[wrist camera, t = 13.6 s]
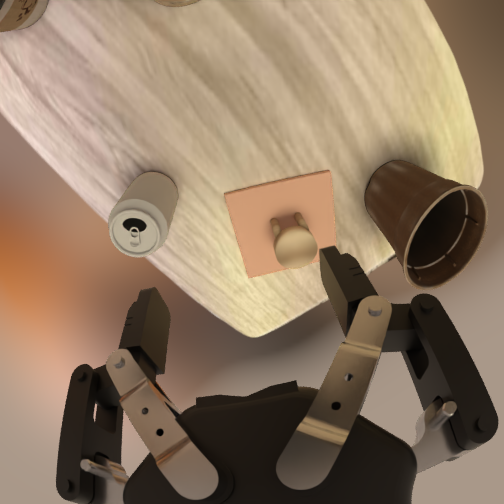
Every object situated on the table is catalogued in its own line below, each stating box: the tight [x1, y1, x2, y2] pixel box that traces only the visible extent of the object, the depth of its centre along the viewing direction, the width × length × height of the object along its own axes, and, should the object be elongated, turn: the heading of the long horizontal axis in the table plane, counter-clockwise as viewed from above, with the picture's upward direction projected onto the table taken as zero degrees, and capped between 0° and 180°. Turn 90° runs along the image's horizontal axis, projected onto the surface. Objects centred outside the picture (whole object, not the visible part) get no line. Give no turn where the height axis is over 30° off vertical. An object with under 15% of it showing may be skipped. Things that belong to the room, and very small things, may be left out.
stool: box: [270, 212, 318, 269], centre depth 41 cm, size 6×6×6 cm
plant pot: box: [365, 160, 488, 290], centre depth 36 cm, size 16×16×16 cm
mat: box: [224, 170, 336, 278], centre depth 44 cm, size 16×16×1 cm
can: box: [108, 172, 178, 257], centre depth 34 cm, size 8×8×12 cm
